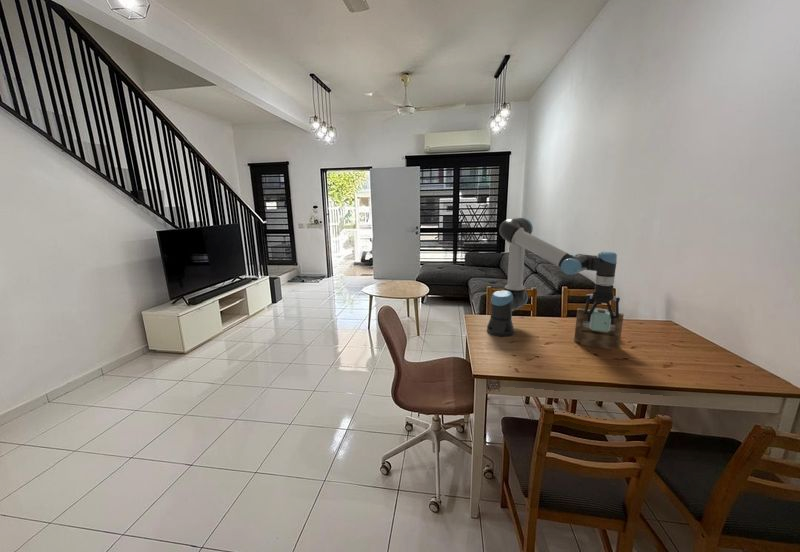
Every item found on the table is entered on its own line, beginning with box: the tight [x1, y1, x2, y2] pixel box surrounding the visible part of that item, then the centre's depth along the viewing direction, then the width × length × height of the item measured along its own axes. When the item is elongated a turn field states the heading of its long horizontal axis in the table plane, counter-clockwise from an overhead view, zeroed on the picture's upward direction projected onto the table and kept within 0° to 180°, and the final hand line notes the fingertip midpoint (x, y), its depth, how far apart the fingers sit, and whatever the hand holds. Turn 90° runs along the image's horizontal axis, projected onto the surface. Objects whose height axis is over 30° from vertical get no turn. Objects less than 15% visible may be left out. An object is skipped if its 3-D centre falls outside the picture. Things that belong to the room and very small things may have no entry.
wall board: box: [573, 307, 624, 351], centre depth 164 cm, size 20×8×18 cm, turn 61°
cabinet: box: [591, 307, 610, 332], centre depth 157 cm, size 7×9×10 cm
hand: (599, 329), depth 157 cm, fingers closed on cabinet, 7 cm apart
